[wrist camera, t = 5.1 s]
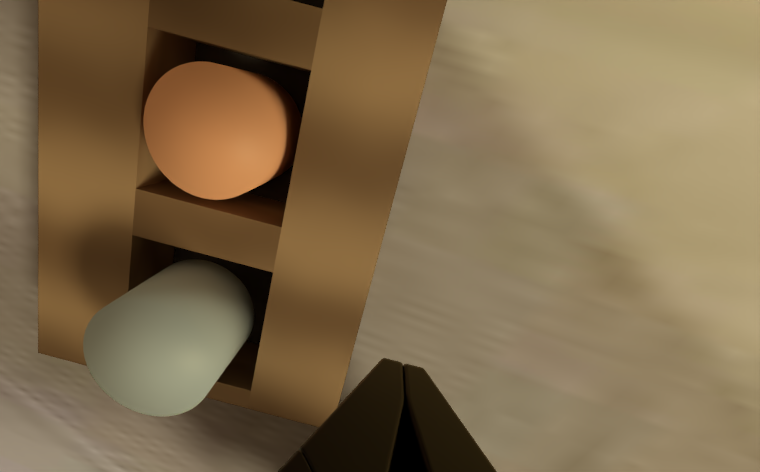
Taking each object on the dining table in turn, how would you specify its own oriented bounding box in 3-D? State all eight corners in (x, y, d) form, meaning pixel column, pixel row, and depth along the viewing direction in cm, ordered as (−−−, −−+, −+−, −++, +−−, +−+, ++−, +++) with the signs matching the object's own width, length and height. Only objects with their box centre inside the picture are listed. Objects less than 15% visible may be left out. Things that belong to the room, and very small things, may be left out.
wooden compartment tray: (343, 383, 22) (331, 430, 19) (94, 316, 22) (38, 352, 19) (485, -147, 15) (505, -218, 12) (120, -244, 15) (38, -343, 12)
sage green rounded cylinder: (246, 367, 19) (205, 430, 16) (146, 340, 19) (80, 397, 16) (262, 275, 18) (222, 319, 14) (155, 246, 18) (85, 283, 14)
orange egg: (292, 193, 19) (262, 214, 16) (192, 167, 19) (138, 181, 16) (312, 88, 18) (285, 81, 14) (205, 59, 18) (149, 45, 14)
